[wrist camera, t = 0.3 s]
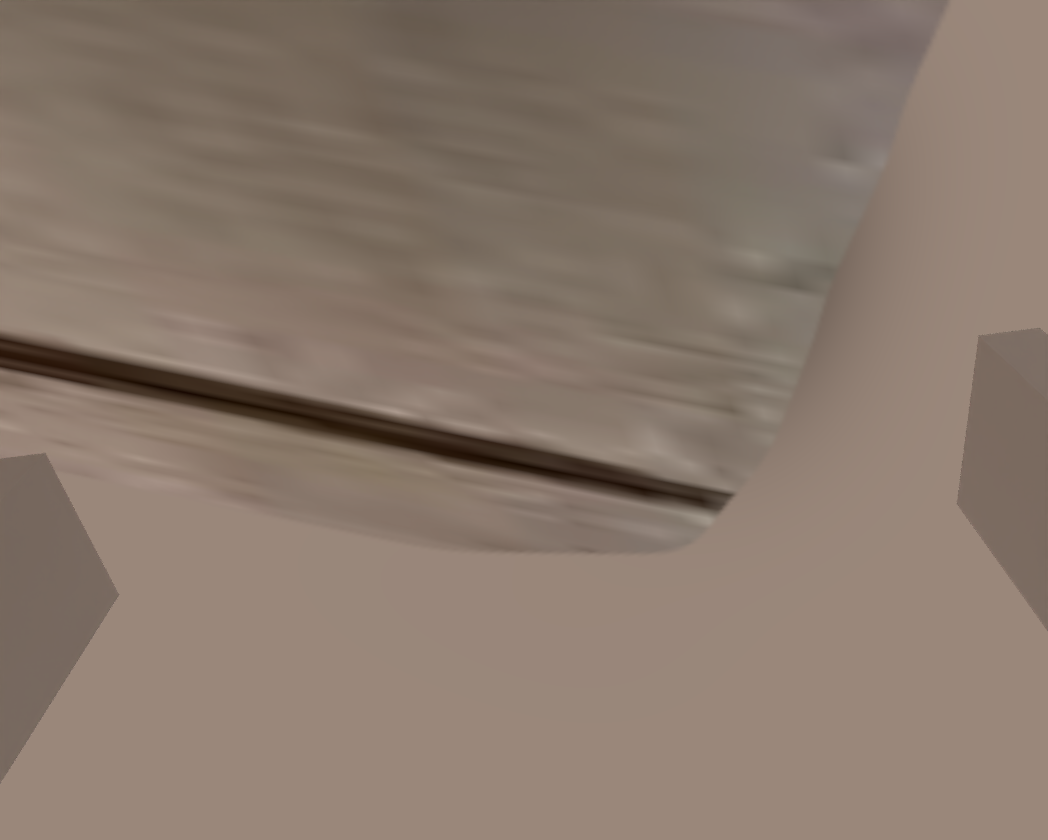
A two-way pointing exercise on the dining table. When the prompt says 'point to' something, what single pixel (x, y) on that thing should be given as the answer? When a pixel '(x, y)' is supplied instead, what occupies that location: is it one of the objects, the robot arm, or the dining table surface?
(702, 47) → the dining table surface
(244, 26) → the dining table surface
